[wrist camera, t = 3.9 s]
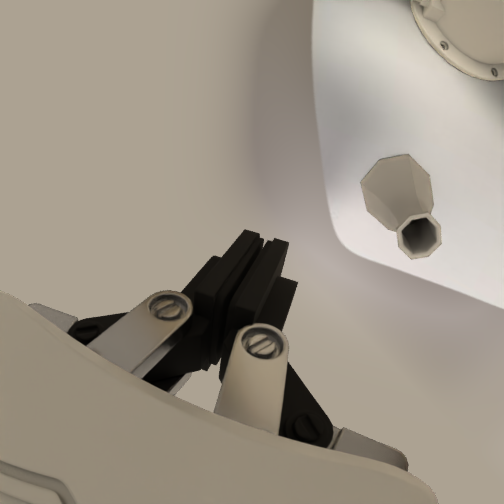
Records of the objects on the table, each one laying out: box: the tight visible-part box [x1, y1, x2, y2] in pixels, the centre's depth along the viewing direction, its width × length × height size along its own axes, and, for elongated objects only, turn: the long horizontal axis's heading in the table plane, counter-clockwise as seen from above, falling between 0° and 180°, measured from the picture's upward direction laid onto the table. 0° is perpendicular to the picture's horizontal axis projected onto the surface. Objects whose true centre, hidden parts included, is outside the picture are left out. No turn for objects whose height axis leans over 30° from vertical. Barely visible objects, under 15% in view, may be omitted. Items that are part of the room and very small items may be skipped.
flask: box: [360, 154, 442, 260], centre depth 20 cm, size 7×7×10 cm
